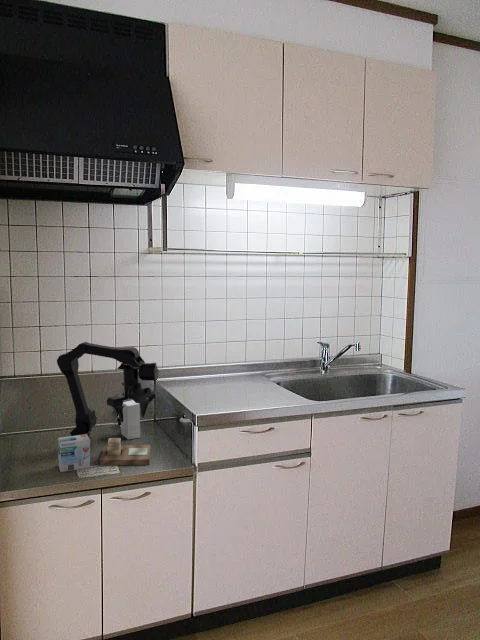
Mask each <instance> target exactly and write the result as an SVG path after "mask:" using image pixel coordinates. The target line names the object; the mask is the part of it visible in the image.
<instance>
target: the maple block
mask: <svg viewBox="0 0 480 640" xmlns="http://www.w3.org/2000/svg"><path fill="white" fill-rule="evenodd" d="M121 440H122V438H121V437H108V441H107V446H108V455H107V456H111V455H122V454H121V445H122V443H121V442H122V441H121Z"/></svg>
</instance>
